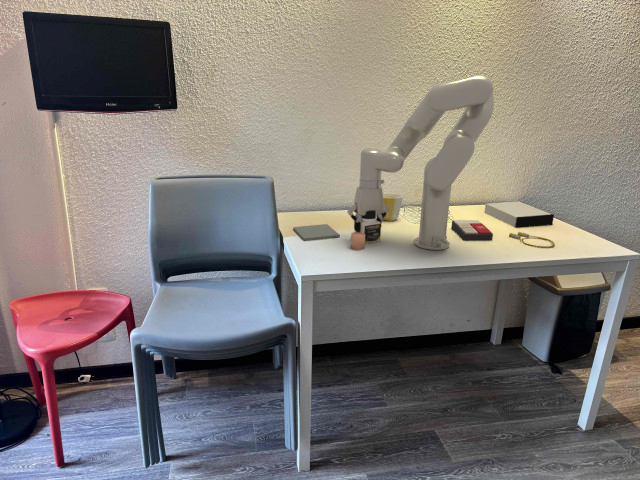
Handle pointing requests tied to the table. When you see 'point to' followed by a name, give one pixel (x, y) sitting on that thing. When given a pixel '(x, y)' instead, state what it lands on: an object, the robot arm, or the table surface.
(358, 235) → the terracotta cylinder
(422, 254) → the table surface
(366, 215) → the medicine bottle
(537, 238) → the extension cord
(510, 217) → the disc drive
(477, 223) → the red and grey box
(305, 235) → the slate mat
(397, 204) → the mug
